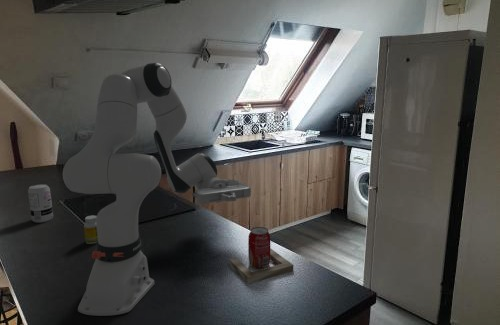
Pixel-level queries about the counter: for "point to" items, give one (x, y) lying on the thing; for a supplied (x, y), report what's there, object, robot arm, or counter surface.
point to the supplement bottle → (90, 230)
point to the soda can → (259, 247)
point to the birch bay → (250, 277)
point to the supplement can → (40, 203)
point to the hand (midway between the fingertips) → (232, 199)
